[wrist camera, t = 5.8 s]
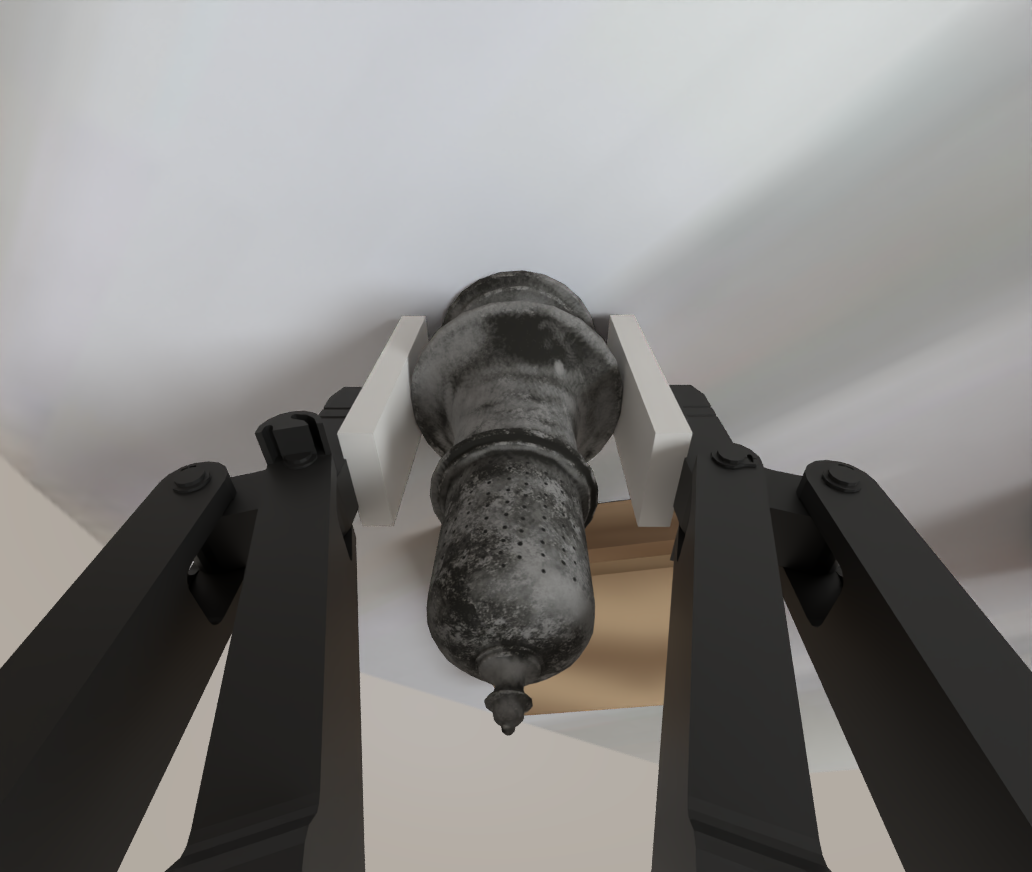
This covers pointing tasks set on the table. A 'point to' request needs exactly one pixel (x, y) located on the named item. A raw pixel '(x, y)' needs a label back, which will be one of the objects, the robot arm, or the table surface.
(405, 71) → the table surface
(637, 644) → the plinth
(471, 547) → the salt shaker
